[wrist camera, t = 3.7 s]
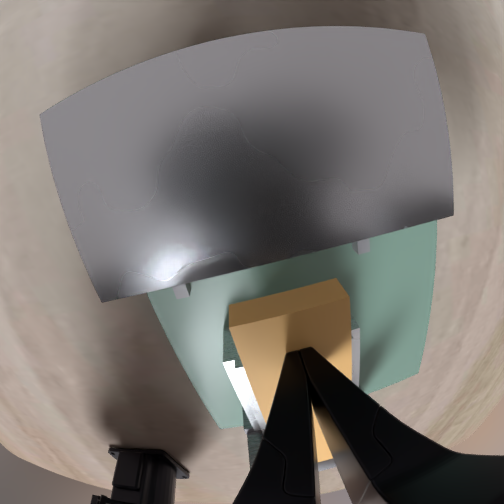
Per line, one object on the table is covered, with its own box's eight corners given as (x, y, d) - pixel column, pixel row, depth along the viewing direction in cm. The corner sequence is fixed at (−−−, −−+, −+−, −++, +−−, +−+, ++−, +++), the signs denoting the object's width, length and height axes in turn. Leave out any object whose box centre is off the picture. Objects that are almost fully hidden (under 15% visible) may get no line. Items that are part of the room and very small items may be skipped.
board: (412, 364, 18) (422, 379, 16) (220, 418, 18) (219, 436, 16) (399, 48, 10) (417, 40, 8) (95, 105, 10) (78, 101, 8)
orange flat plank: (347, 442, 14) (355, 464, 12) (278, 459, 14) (282, 483, 12) (345, 270, 9) (367, 297, 7) (215, 302, 9) (212, 337, 7)
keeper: (334, 170, 11) (453, 215, 4) (172, 209, 11) (101, 302, 5) (316, 88, 10) (424, 33, 3) (149, 126, 10) (39, 114, 3)
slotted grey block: (345, 375, 16) (360, 410, 13) (251, 399, 16) (255, 438, 13) (341, 298, 13) (364, 334, 11) (223, 327, 14) (222, 370, 11)
